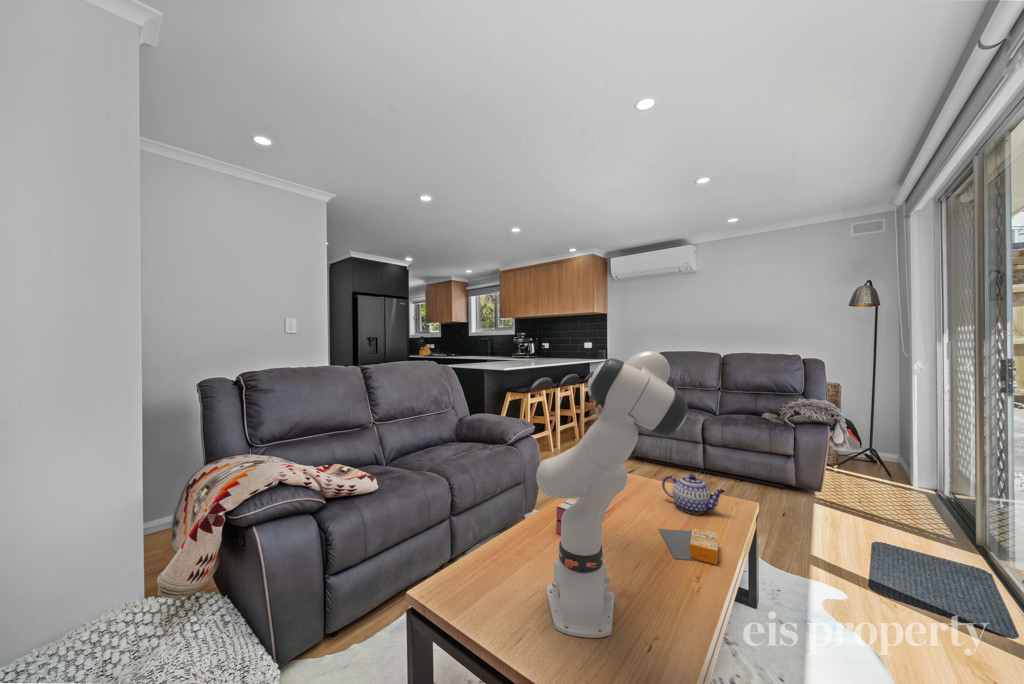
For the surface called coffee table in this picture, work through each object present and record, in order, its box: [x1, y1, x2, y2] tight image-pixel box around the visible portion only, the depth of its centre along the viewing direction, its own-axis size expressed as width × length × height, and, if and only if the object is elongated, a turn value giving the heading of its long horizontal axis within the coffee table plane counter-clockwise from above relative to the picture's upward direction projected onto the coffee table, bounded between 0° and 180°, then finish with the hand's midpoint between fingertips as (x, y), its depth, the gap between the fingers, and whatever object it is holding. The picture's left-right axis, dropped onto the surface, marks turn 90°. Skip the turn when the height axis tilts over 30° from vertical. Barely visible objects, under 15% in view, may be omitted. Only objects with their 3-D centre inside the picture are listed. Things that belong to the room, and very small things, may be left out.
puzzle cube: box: [555, 498, 578, 535], centre depth 143 cm, size 10×10×10 cm
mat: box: [658, 528, 720, 563], centre depth 135 cm, size 20×14×1 cm
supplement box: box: [690, 527, 719, 565], centre depth 130 cm, size 8×5×13 cm
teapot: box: [661, 473, 726, 515], centre depth 164 cm, size 25×15×15 cm, turn 46°
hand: (622, 447), depth 135 cm, fingers closed
